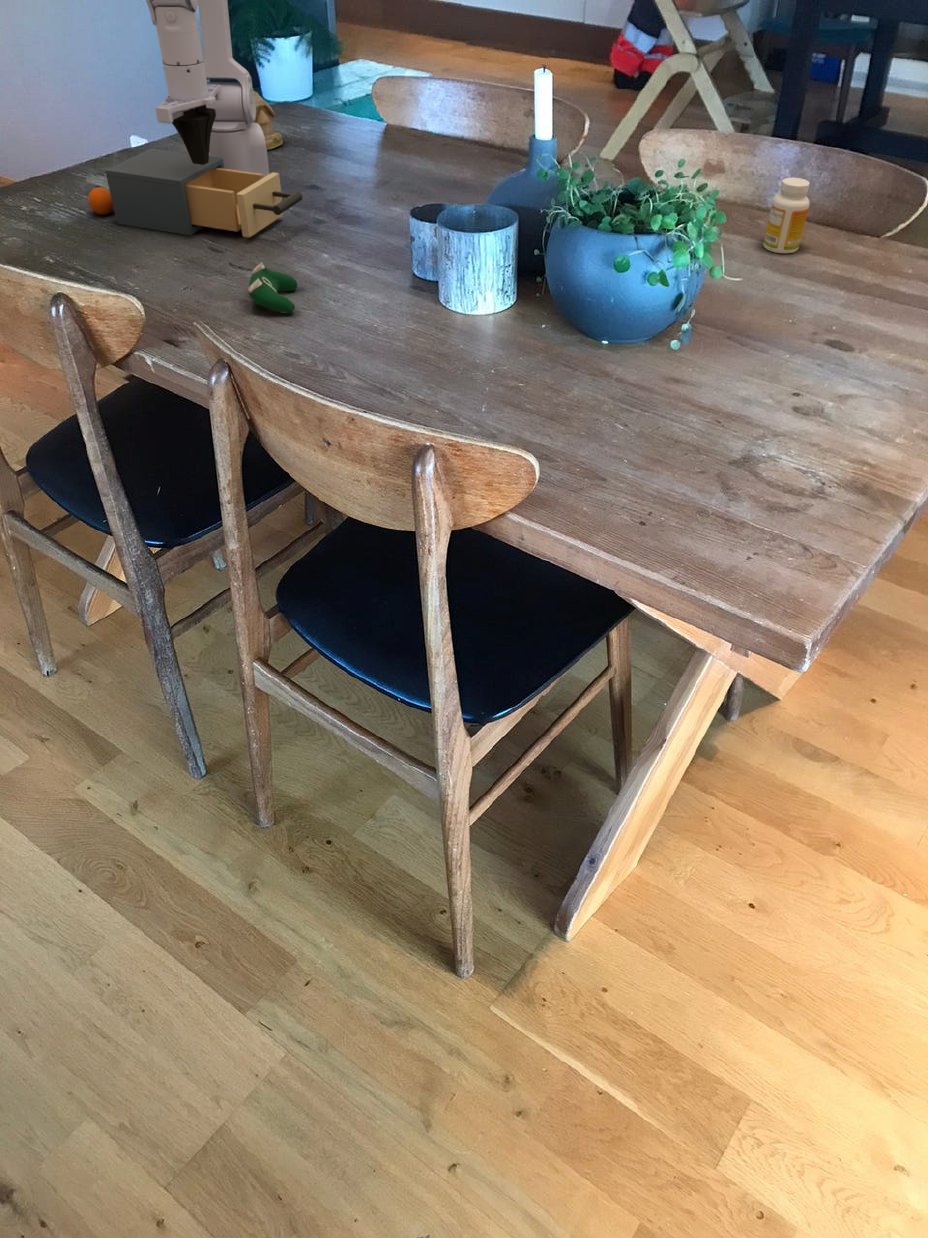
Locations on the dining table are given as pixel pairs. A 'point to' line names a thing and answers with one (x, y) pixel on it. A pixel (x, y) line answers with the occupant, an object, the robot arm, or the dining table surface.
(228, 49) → the robot arm
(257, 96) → the ceramic model
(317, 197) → the dining table surface
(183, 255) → the dining table surface
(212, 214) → the drawer
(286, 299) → the green fabric slippers
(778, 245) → the supplement bottle
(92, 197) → the ball
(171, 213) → the cabinet
